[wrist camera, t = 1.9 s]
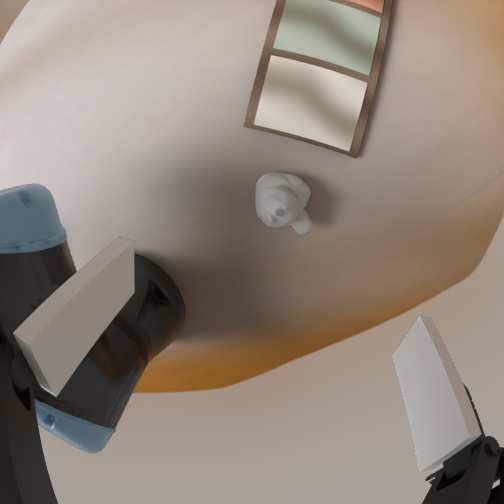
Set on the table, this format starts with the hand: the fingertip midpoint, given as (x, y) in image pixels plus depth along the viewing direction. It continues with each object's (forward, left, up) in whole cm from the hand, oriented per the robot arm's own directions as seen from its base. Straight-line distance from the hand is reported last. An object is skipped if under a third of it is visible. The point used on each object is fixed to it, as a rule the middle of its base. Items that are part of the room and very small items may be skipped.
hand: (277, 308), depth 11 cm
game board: (+18, 0, -18) cm, 25 cm away
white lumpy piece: (0, 0, -18) cm, 18 cm away
